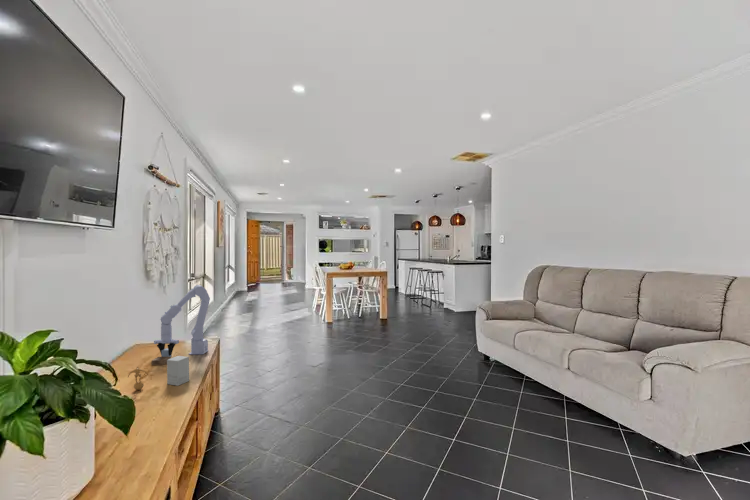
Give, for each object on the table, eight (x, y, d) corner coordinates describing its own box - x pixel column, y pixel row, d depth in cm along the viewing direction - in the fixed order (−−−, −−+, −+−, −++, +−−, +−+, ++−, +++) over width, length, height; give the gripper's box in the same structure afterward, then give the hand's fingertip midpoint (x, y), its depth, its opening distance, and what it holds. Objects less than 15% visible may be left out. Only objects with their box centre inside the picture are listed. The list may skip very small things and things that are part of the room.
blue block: (171, 356, 226) (171, 348, 226) (167, 358, 222) (167, 350, 222) (165, 356, 226) (165, 348, 226) (161, 358, 222) (161, 350, 222)
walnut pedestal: (170, 361, 217) (170, 356, 217) (163, 365, 210) (163, 360, 210) (158, 361, 217) (158, 356, 217) (151, 365, 210) (151, 360, 210)
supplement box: (189, 380, 186) (189, 356, 186) (177, 386, 179) (177, 361, 179) (178, 379, 188) (178, 355, 188) (166, 384, 181) (166, 359, 181)
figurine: (149, 386, 178) (149, 363, 178) (147, 391, 172) (146, 366, 172) (129, 389, 175) (129, 365, 174) (126, 394, 169) (126, 369, 169)
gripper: (150, 335, 220) (150, 357, 220) (174, 335, 220) (174, 357, 220) (157, 332, 227) (157, 353, 227) (180, 332, 227) (180, 353, 227)
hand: (166, 355), depth 224 cm, fingers closed on blue block, 4 cm apart
